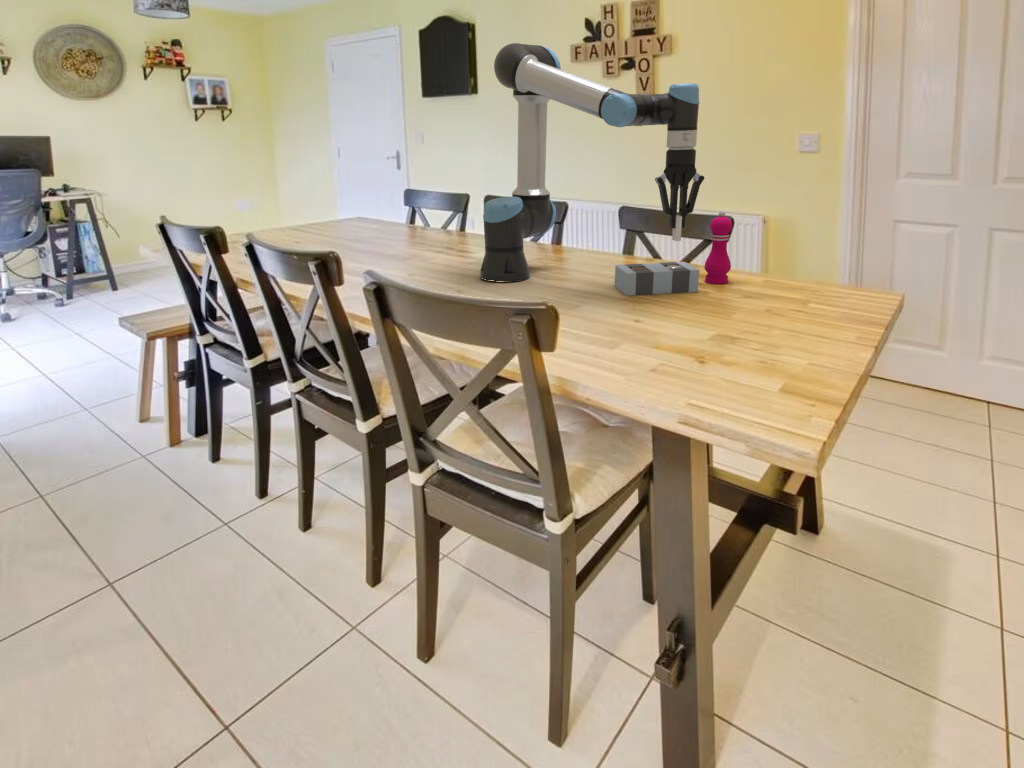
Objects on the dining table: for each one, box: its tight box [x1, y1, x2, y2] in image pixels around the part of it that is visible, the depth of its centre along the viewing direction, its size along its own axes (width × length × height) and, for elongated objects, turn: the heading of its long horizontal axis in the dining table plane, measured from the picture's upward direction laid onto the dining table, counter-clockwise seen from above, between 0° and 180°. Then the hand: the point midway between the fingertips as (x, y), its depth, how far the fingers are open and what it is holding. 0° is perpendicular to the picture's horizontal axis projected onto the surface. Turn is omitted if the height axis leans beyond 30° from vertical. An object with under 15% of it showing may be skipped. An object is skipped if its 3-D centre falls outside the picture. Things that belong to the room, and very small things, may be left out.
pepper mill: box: [704, 210, 733, 285], centre depth 190 cm, size 7×7×20 cm
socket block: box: [614, 261, 700, 297], centre depth 186 cm, size 20×12×6 cm, turn 96°
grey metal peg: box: [667, 265, 681, 269], centre depth 187 cm, size 4×4×6 cm
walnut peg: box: [631, 267, 646, 270], centre depth 186 cm, size 4×4×6 cm
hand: (676, 240), depth 183 cm, fingers closed
